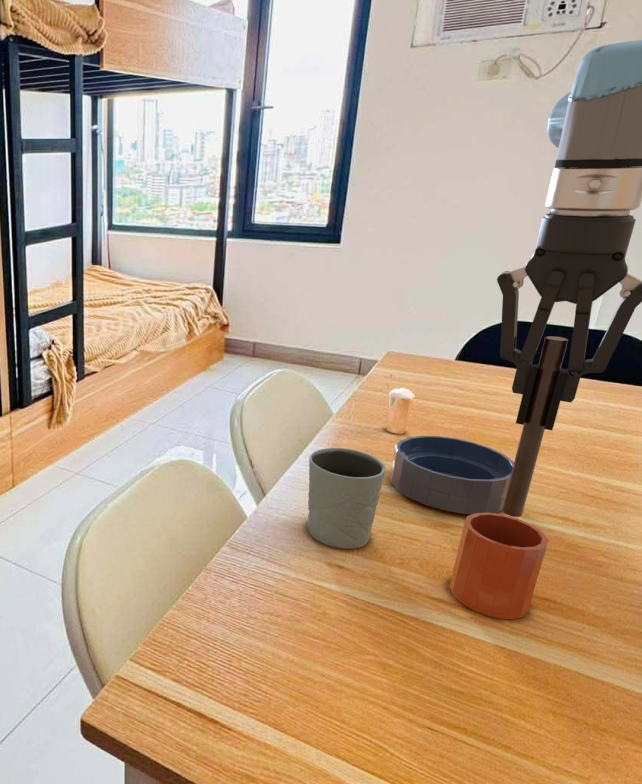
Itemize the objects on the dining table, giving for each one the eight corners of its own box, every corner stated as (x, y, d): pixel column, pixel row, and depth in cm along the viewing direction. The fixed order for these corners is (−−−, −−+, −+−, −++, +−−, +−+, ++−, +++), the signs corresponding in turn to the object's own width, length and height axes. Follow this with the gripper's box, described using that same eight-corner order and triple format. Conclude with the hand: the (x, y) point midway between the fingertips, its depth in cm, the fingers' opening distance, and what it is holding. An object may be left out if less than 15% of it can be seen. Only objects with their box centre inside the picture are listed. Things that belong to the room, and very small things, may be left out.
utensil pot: (531, 594, 81) (551, 527, 77) (523, 629, 75) (543, 558, 72) (457, 569, 86) (472, 505, 83) (443, 599, 80) (459, 532, 77)
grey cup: (376, 557, 89) (389, 482, 85) (300, 544, 92) (310, 471, 88) (369, 521, 98) (381, 452, 94) (300, 510, 101) (309, 443, 97)
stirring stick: (523, 512, 77) (568, 338, 69) (520, 518, 75) (567, 341, 68) (503, 506, 78) (546, 335, 70) (500, 513, 76) (544, 339, 69)
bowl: (514, 487, 107) (523, 453, 105) (498, 529, 95) (508, 492, 93) (404, 459, 118) (410, 428, 116) (377, 494, 106) (383, 459, 104)
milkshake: (381, 424, 134) (388, 380, 130) (409, 429, 131) (417, 384, 128) (377, 431, 130) (384, 386, 127) (405, 437, 127) (414, 390, 124)
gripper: (496, 212, 66) (453, 418, 74) (692, 217, 57) (619, 451, 65) (506, 208, 72) (466, 400, 80) (687, 211, 62) (620, 428, 70)
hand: (535, 422), depth 72 cm, fingers closed on stirring stick, 2 cm apart
